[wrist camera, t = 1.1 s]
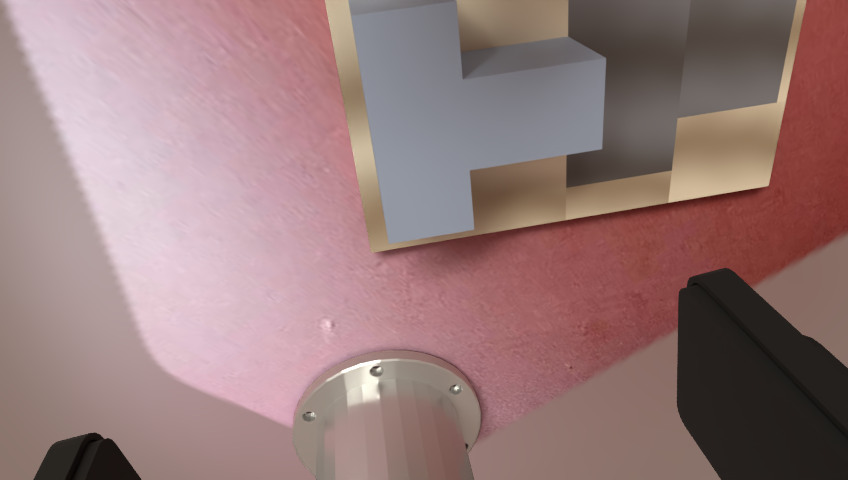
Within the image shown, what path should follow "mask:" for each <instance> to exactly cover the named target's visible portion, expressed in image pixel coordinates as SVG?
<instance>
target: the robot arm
mask: <svg viewBox="0 0 848 480" xmlns="http://www.w3.org/2000/svg"><path fill="white" fill-rule="evenodd" d="M677 407H678V412H679V414H680V417H681V419H682V422H683V423H684V425H685V427H686V428H687V430H688V431H689V433H690V434H691V436H692V437H693V439H694V440H695V442H696V443H697V444H698V446H699V447H700V449H701V450H702V452H703V453H704V455H705V456H706V458H707V459H708V461H709V462H710V464H711V465H712V467H713V468H714V470H715V471H716V472H717V474H718V476H719V477H720V478H721V480H848V368H847V367H846V366H844V365H843V364H842V363H841V362H840V361H839V360H838V359H836V358H835V357H834V356H833V355H832V354H831V353H830V352H829V351H828V350H827V349H825V348H824V347H823V346H822V345H821V344H819V343H818V342H817V341H815V340H814V339H813V338H810V337H807V336H804V335H802V334H801V333H800V332H799V331H798V330H797V329H796V328H794V327H793V326H792V325H791V324H790V323H789V322H788V321H787V320H786V319H785V318H784V317H782V316H781V315H780V314H779V313H778V312H777V311H776V310H775V309H774V308H773V307H772V306H770V305H769V304H768V303H767V302H766V301H765V300H764V299H763V298H762V297H761V296H759V294H757V293H756V292H755V291H754V290H753V289H752V288H751V287H750V286H749V285H748V284H747V283H746V282H744V281H743V280H742V279H741V278H740V277H739V276H738V275H737V274H736V273H735V272H733V271H732V270H730V269H727V268H723V269H719V270H715V271H711V272H708V273H704V274H700V275H696V276H693V277H690V278H689V280H688V283H687V287H686V288H683V289H681V290H680V291H679V302H678V367H677ZM480 427H481V411H480V407H479V402H478V399H477V396H476V394H475V391H474V388H473V386H472V385H471V383H470V382H469V381H468V379H467V378H466V376H465V375H463V374H462V373H461V372H460V371H459V370H458V369H457V368H456V367H454V366H453V365H451V364H449V363H447V362H446V361H444V360H442V359H440V358H437V357H434V356H431V355H428V354H425V353H420V352H414V351H407V350H386V351H379V352H372V353H367V354H364V355H360V356H357V357H354V358H350V359H348V360H346V361H344V362H342V363H340V364H338V365H336V366H334V367H332V368H331V369H329V370H328V371H326V372H325V373H323V374H322V375H320V376H319V377H318V378H317V379H316V380H315V381H314V382H313V383H312V384H311V385H310V386H309V387H308V388H307V390H306V391H305V393H304V394H303V396H302V397H301V399H300V400H299V403H298V405H297V408H296V411H295V413H294V422H293V444H294V447H295V450H296V453H297V456H298V457H299V459H300V460H301V462H302V463H303V465H304V466H305V467H306V468H307V469H308V470H309V471H310V472H311V473H312V474H313V475H314V476H315V477H316V480H474V477H473V473H472V469H471V465H470V462H469V458H468V453H469V452H470V450H471V449H472V447H473V445H474V443H475V442H476V440H477V437H478V434H479V430H480ZM34 480H141V478H140V477H139V475H138V474H137V473H136V471H135V470H134V469H133V467H132V466H131V464H130V463H129V462H128V460H127V459H126V457H125V456H124V455H123V453H122V452H121V451H120V449H119V448H118V446H117V445H116V444H115V443H114V441H113V440H111V439H109V438H107V439H104V438H103V437H102V436H101V435H100V434H97V433H89V434H85V435H81V436H77V437H73V438H70V439H66V440H62V441H58V442H56V443H55V444H53V445H52V446H51V447H50V449H49V450H48V452H47V454H46V456H45V458H44V460H43V462H42V464H41V466H40V468H39V470H38V472H37V474H36V476H35V478H34Z"/></svg>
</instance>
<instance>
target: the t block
mask: <svg viewBox="0 0 848 480" xmlns="http://www.w3.org/2000/svg"><path fill="white" fill-rule="evenodd" d="M348 2H349V8H350V14H351V20H352V26H353V32H354V39H355V45H356V51H357V57H358V63H359V69H360V75H361V81H362V87H363V93H364V99H365V105H366V111H367V117H368V123H369V129H370V136H371V142H372V148H373V154H374V160H375V166H376V172H377V178H378V184H379V190H380V196H381V202H382V208H383V213H384V219H385V225H386V230H387V236H388V241H389V244H392V243H398V242H404V241H410V240H416V239H422V238H428V237H434V236H440V235H446V234H452V233H458V232H464V231H470V230H474V219H473V206H472V193H471V180H470V170H476V169H482V168H488V167H494V166H500V165H507V164H513V163H519V162H525V161H531V160H538V159H544V158H550V157H556V156H563V155H569V154H575V153H581V152H587V151H594V150H600V149H602V140H603V118H604V96H605V73H606V58H605V57H603V56H602V55H600V54H598V53H596V52H595V51H593V50H591V49H589V48H588V47H586V46H584V45H582V44H580V43H579V42H577V41H575V40H573V39H572V38H570V37H561V38H554V39H547V40H540V41H534V42H527V43H520V44H513V45H507V46H500V47H493V48H486V49H480V50H473V51H466V52H460V39H459V26H458V13H457V1H456V0H348Z"/></svg>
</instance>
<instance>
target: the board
mask: <svg viewBox="0 0 848 480" xmlns="http://www.w3.org/2000/svg"><path fill="white" fill-rule="evenodd" d="M456 1H457V13H458V26H459V39H460V52H466V51H473V50H480V49H486V48H493V47H500V46H507V45H513V44H520V43H527V42H534V41H540V40H547V39H554V38H561V37H570V38H572V39H573V40H575V41H577V42H579V43H580V44H582V45H584V46H586V47H588V48H589V49H591V50H593V51H595V52H596V53H598V54H600V55H602V56H603V57H605V58H606V73H605V96H604V118H603V140H602V149H600V150H594V151H587V152H581V153H575V154H569V155H563V156H556V157H550V158H544V159H538V160H531V161H525V162H519V163H513V164H507V165H500V166H494V167H488V168H482V169H476V170H470V180H471V193H472V206H473V219H474V230H470V231H464V232H458V233H452V234H446V235H440V236H434V237H428V238H422V239H416V240H410V241H404V242H398V243H392V244H389V241H388V236H387V230H386V225H385V219H384V213H383V208H382V202H381V196H380V190H379V184H378V178H377V172H376V166H375V160H374V154H373V148H372V142H371V136H370V129H369V123H368V117H367V111H366V105H365V99H364V93H363V87H362V81H361V75H360V69H359V63H358V57H357V51H356V45H355V39H354V32H353V26H352V20H351V14H350V8H349V2H348V0H325V3H326V9H327V14H328V20H329V25H330V31H331V36H332V41H333V47H334V52H335V58H336V63H337V69H338V74H339V80H340V85H341V90H342V96H343V101H344V107H345V112H346V118H347V123H348V129H349V134H350V139H351V145H352V150H353V156H354V161H355V167H356V172H357V178H358V183H359V188H360V194H361V199H362V205H363V210H364V216H365V221H366V227H367V232H368V237H369V243H370V248H371V253H373V252H379V251H385V250H391V249H397V248H403V247H409V246H415V245H421V244H427V243H433V242H439V241H445V240H450V239H456V238H462V237H468V236H474V235H480V234H486V233H492V232H498V231H504V230H510V229H516V228H522V227H528V226H534V225H540V224H546V223H551V222H557V221H563V220H569V219H575V218H581V217H587V216H593V215H599V214H605V213H611V212H617V211H623V210H629V209H635V208H641V207H646V206H652V205H658V204H664V203H670V202H676V201H682V200H688V199H694V198H700V197H706V196H712V195H718V194H724V193H730V192H736V191H742V190H747V189H753V188H759V187H765V186H769V181H770V176H771V171H772V166H773V161H774V157H775V152H776V147H777V142H778V137H779V132H780V127H781V122H782V117H783V112H784V107H785V103H786V98H787V93H788V88H789V83H790V78H791V73H792V68H793V63H794V58H795V54H796V49H797V44H798V39H799V34H800V29H801V24H802V19H803V14H804V9H805V4H806V0H456Z"/></svg>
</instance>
